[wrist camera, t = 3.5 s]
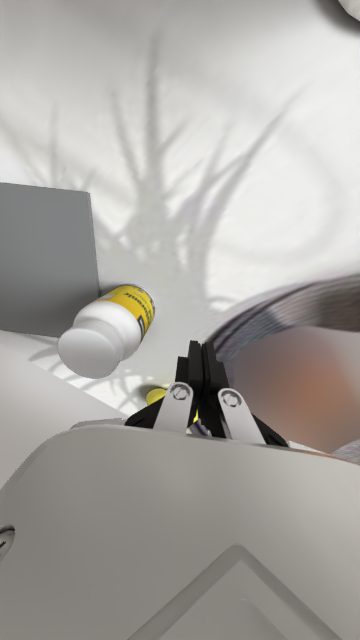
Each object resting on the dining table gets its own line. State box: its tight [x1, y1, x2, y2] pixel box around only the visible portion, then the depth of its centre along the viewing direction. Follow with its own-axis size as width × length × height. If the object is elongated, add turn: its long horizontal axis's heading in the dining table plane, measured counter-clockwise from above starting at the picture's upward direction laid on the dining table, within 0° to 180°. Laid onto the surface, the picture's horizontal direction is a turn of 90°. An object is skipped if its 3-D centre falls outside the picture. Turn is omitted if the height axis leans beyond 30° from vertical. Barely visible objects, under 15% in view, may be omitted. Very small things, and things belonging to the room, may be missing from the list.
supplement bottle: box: [58, 284, 156, 379], centre depth 15 cm, size 5×5×10 cm
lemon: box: [146, 388, 198, 422], centre depth 24 cm, size 4×8×4 cm, turn 62°
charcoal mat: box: [0, 182, 100, 338], centre depth 19 cm, size 14×16×1 cm
